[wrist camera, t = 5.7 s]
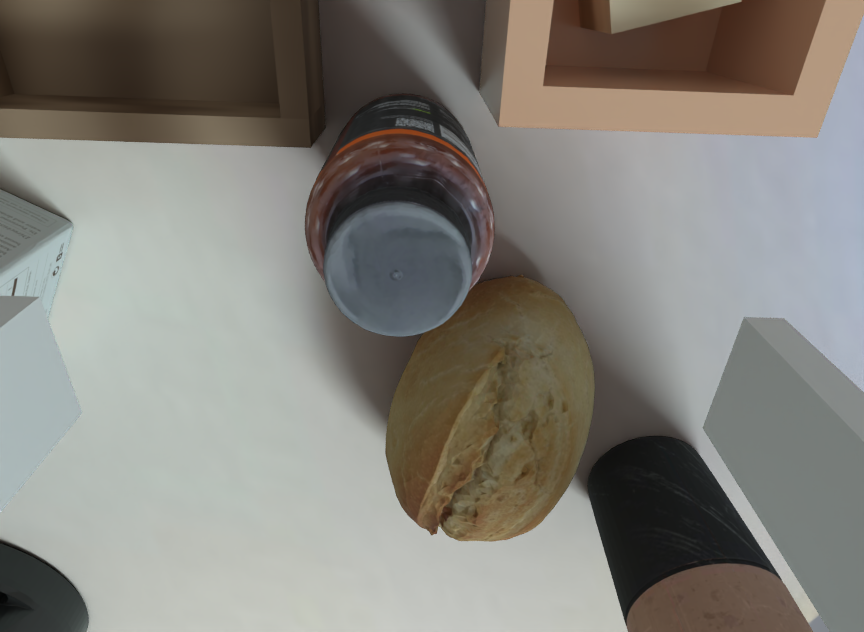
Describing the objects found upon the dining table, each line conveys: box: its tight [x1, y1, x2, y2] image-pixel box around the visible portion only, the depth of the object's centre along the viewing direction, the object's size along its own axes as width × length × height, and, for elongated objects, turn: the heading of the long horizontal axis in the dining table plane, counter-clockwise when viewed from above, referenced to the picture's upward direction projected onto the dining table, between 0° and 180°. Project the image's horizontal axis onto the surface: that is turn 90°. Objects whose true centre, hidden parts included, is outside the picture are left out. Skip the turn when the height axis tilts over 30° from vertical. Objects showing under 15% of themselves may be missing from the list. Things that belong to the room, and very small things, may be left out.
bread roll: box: [386, 275, 595, 541], centre depth 27 cm, size 10×15×8 cm, turn 171°
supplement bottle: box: [305, 94, 495, 336], centre depth 19 cm, size 6×6×11 cm
